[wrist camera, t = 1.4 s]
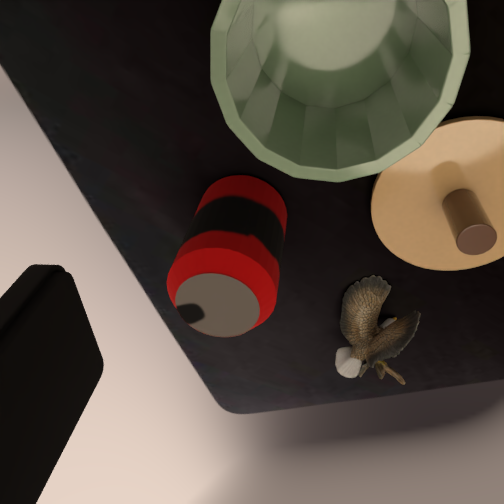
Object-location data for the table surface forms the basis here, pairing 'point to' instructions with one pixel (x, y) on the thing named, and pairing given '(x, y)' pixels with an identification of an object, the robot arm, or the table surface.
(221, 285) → the soda can
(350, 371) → the eagle figurine
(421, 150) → the lid
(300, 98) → the canister
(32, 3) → the table surface
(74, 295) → the robot arm
